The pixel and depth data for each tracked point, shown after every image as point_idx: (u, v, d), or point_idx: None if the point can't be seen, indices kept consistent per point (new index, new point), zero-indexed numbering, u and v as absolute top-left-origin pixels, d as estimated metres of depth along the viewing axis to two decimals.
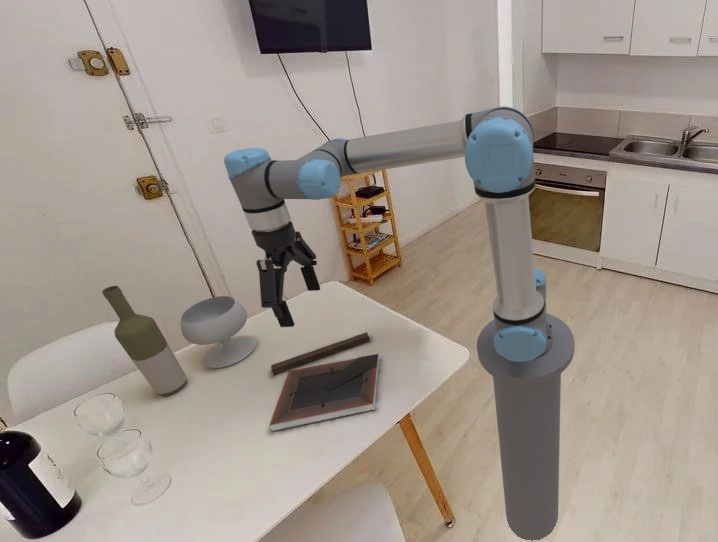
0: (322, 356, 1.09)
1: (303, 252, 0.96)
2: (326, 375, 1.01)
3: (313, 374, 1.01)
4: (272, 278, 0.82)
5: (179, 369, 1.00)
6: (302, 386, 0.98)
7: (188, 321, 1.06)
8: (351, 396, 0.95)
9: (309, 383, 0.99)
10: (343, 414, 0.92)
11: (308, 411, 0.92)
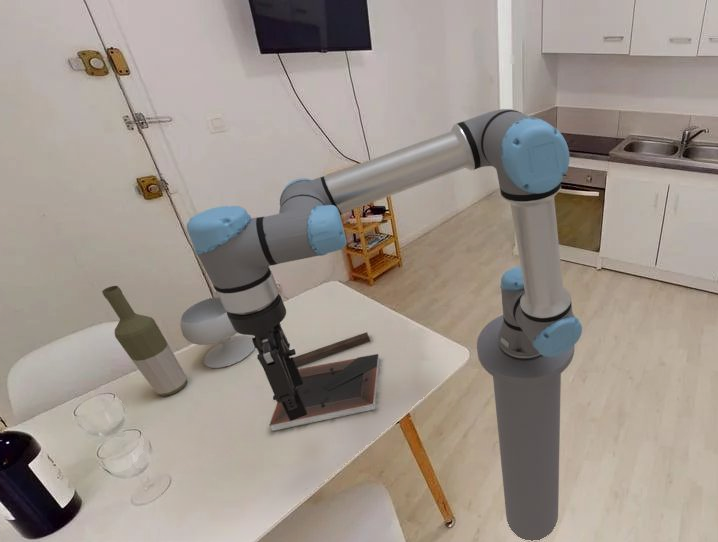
0: (322, 356, 1.09)
1: None
2: (326, 375, 1.01)
3: (313, 374, 1.01)
4: (283, 368, 0.65)
5: (179, 369, 1.00)
6: (302, 386, 0.98)
7: (188, 321, 1.06)
8: (351, 396, 0.95)
9: (309, 383, 0.99)
10: (343, 414, 0.92)
11: (308, 411, 0.92)
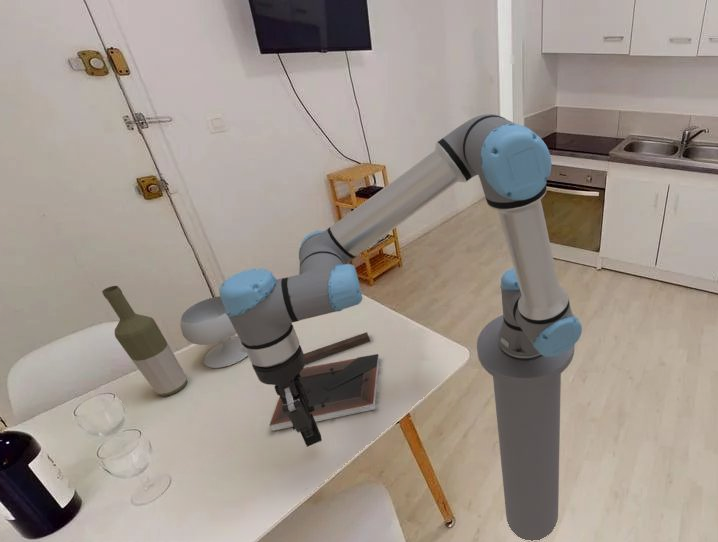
0: (322, 356, 1.09)
1: None
2: (326, 375, 1.01)
3: (313, 374, 1.01)
4: (304, 411, 0.72)
5: (179, 369, 1.00)
6: None
7: (188, 321, 1.06)
8: (351, 396, 0.95)
9: (309, 383, 0.99)
10: (343, 414, 0.92)
11: None
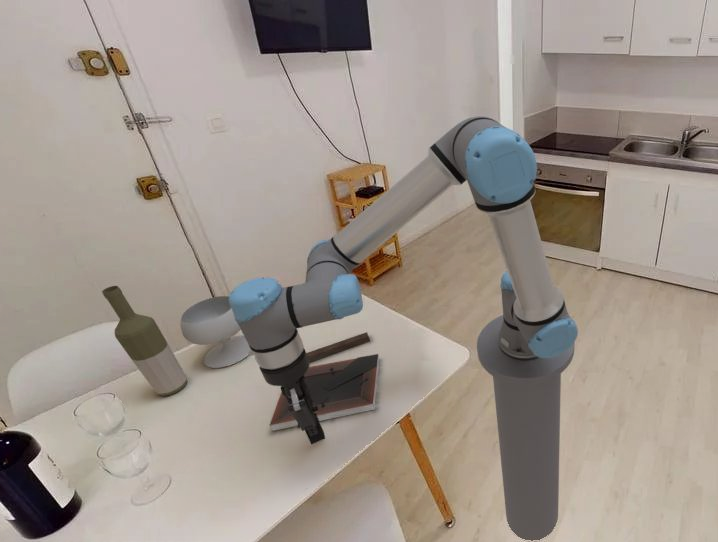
0: (322, 356, 1.09)
1: None
2: (326, 375, 1.01)
3: (313, 374, 1.01)
4: (308, 411, 0.77)
5: (179, 369, 1.00)
6: None
7: (188, 321, 1.06)
8: (351, 396, 0.95)
9: (309, 383, 0.99)
10: (343, 414, 0.92)
11: None
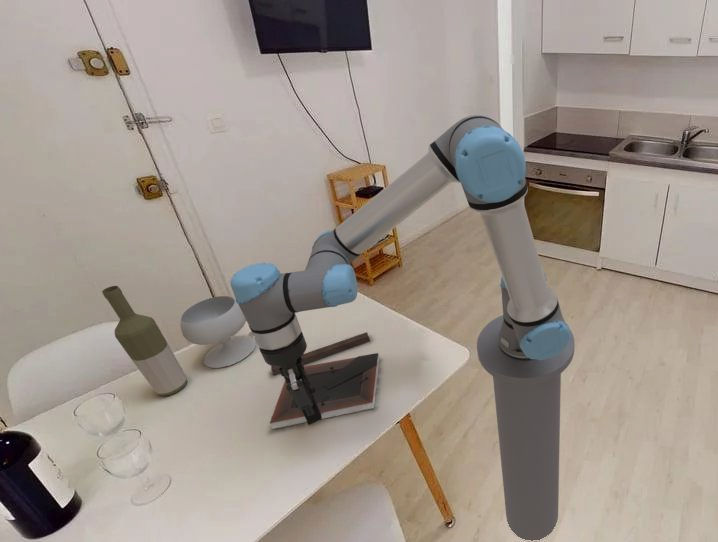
0: (322, 356, 1.09)
1: None
2: (326, 374, 1.01)
3: (313, 373, 1.02)
4: (305, 390, 0.81)
5: (179, 369, 1.00)
6: None
7: (188, 321, 1.06)
8: (351, 395, 0.95)
9: None
10: (343, 413, 0.93)
11: None
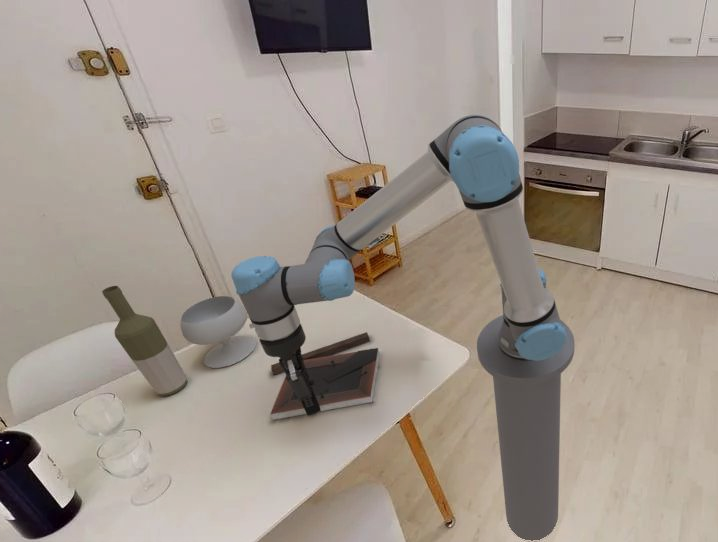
0: (322, 356, 1.09)
1: None
2: (327, 367, 1.03)
3: (314, 366, 1.04)
4: (304, 381, 0.83)
5: (179, 369, 1.00)
6: None
7: (188, 321, 1.06)
8: (350, 388, 0.97)
9: (310, 374, 1.01)
10: (342, 406, 0.94)
11: None
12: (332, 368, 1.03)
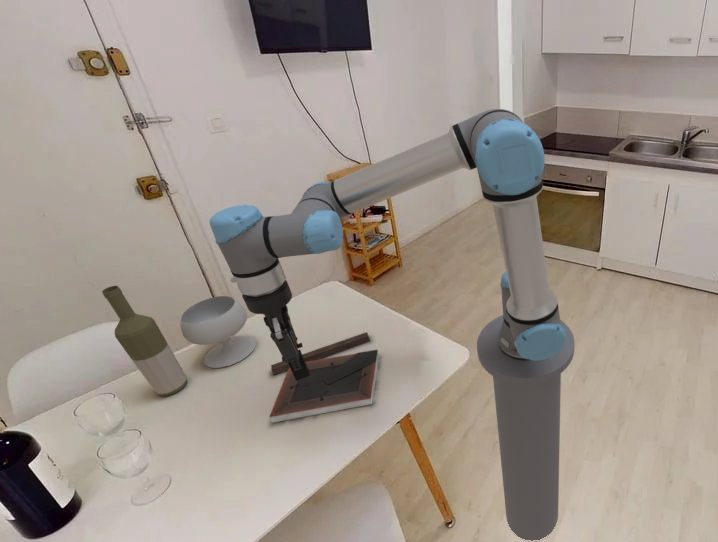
0: (322, 356, 1.09)
1: None
2: (326, 369, 1.03)
3: (313, 368, 1.03)
4: (291, 341, 0.79)
5: (179, 369, 1.00)
6: (303, 379, 1.00)
7: (188, 321, 1.06)
8: (349, 390, 0.97)
9: (309, 377, 1.01)
10: (342, 408, 0.94)
11: (307, 404, 0.93)
12: (331, 370, 1.02)
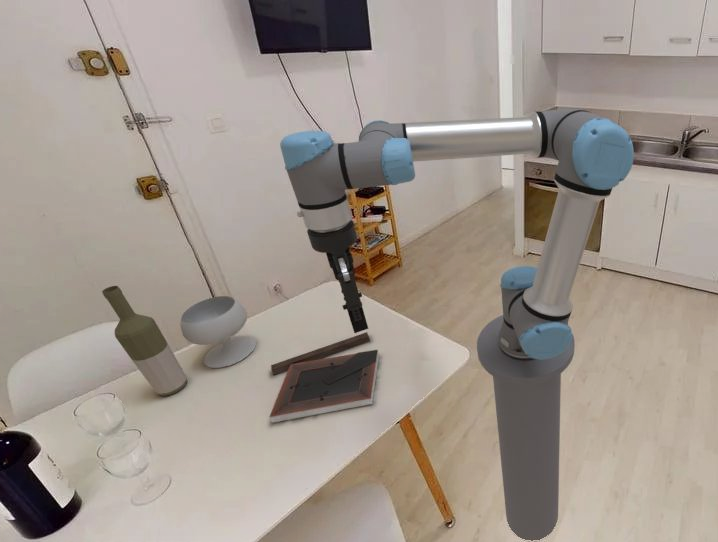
0: (322, 356, 1.09)
1: None
2: (326, 369, 1.03)
3: (313, 368, 1.03)
4: (356, 285, 0.73)
5: (179, 369, 1.00)
6: (303, 379, 1.00)
7: (188, 321, 1.06)
8: (349, 390, 0.97)
9: (309, 377, 1.01)
10: (342, 408, 0.94)
11: (307, 404, 0.93)
12: (331, 370, 1.02)
